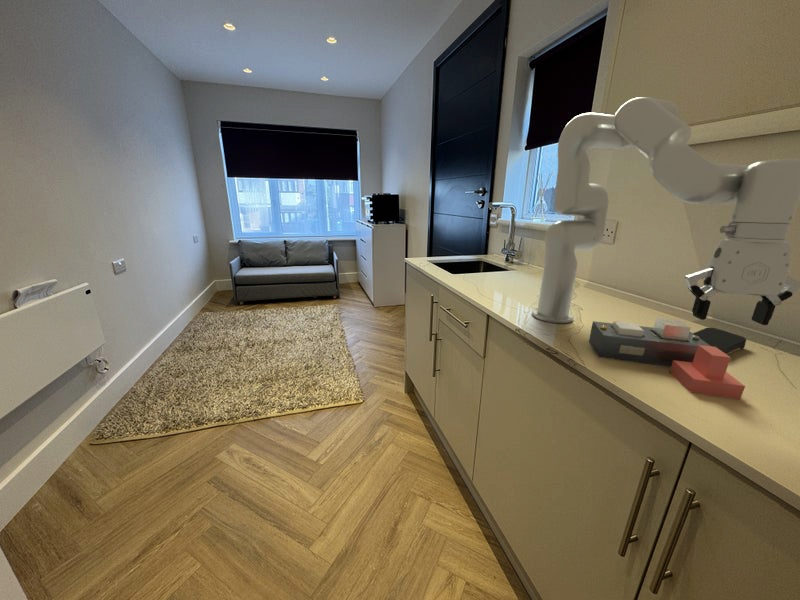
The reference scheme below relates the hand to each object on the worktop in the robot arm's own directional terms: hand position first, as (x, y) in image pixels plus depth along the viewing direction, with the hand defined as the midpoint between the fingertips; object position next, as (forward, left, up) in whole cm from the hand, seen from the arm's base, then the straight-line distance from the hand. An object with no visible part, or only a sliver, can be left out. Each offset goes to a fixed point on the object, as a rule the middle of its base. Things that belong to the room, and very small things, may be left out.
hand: (728, 320), depth 63 cm
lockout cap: (0, 0, -15) cm, 15 cm away
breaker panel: (-12, -7, -15) cm, 21 cm away
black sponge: (-23, +13, -16) cm, 31 cm away
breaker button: (-12, -12, -12) cm, 21 cm away
